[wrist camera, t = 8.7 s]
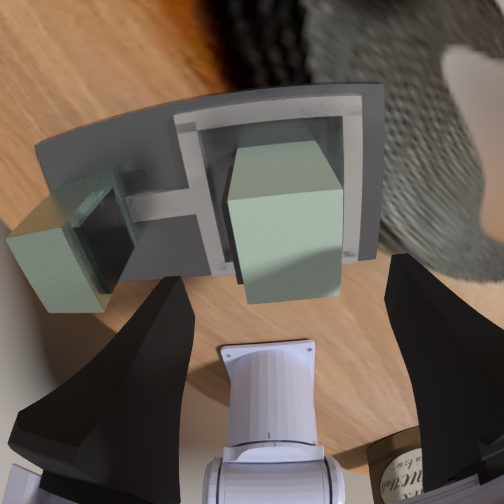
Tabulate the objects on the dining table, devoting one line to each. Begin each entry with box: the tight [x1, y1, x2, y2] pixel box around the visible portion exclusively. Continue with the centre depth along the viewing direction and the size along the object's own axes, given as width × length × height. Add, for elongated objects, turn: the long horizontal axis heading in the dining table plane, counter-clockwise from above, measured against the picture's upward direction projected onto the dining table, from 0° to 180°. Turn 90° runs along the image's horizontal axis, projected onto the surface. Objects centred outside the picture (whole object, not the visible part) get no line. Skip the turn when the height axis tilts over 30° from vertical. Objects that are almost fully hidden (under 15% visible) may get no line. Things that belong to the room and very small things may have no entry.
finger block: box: [221, 141, 343, 304], centre depth 15 cm, size 4×5×6 cm
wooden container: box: [367, 426, 423, 504], centre depth 36 cm, size 15×15×22 cm
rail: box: [6, 82, 385, 313], centre depth 15 cm, size 20×11×7 cm, turn 98°
